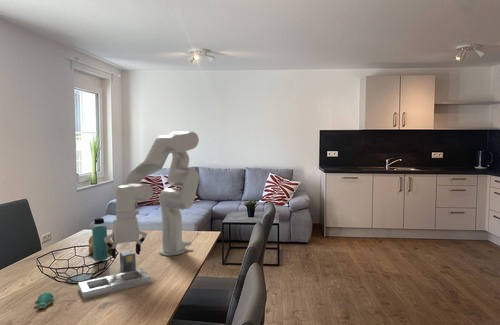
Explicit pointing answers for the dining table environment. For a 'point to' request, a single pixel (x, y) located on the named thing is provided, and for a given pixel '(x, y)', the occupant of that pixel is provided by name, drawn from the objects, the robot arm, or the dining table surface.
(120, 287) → the rail
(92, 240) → the bread roll
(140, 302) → the dining table surface
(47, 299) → the whale figurine
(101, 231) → the beverage bottle
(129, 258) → the block
